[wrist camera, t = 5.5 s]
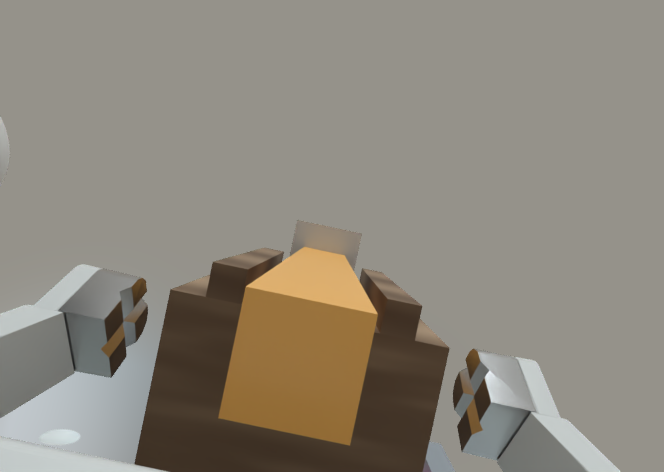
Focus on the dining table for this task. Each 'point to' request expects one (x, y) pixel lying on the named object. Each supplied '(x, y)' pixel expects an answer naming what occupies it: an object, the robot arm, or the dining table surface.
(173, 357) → the walnut post
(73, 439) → the dining table surface
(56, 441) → the dining table surface
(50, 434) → the dining table surface
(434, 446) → the block
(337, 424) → the orange squared block
